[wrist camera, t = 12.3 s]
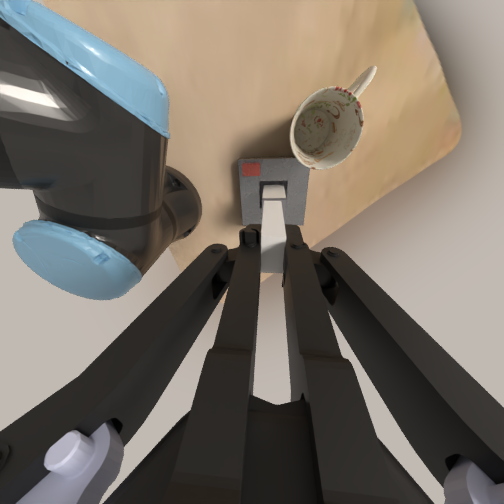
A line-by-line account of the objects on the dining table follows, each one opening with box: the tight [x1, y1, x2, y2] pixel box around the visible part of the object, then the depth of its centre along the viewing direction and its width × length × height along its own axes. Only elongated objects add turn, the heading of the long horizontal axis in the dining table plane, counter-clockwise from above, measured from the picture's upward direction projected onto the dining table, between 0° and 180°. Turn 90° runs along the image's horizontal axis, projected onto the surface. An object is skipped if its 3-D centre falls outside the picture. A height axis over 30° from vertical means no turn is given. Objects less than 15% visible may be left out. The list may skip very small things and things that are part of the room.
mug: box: [289, 66, 377, 170], centre depth 26 cm, size 8×13×10 cm, turn 143°
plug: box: [262, 185, 287, 223], centre depth 33 cm, size 4×4×9 cm
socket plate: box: [238, 157, 310, 225], centre depth 36 cm, size 12×12×3 cm
